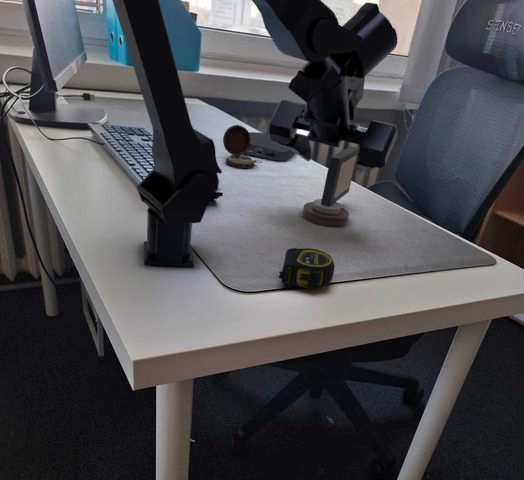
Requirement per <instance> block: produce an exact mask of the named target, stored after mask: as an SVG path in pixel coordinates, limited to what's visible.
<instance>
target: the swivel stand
mask: <svg viewBox="0 0 524 480" xmlns="http://www.w3.org/2000/svg"><path fill="white" fill-rule="evenodd" d="M313 202H314V201H310V202H309V201H308V202H306V203H304V205H303V209H302V217H303V218H304V219H305V220H307V221H309V222H311V223H313V224H316V225H319V226H325V227H333V228H335V227H343V226H345V225H347V224H348V219H349V216H350V212H349V211H348V210H347V209H345V208H344V207H342V208H341V212H340V213H339V214H335V215H331V214H324V213H321V212H318V211H316V210H314V209H313Z"/></svg>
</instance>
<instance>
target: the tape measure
mask: <svg viewBox="0 0 524 480" xmlns="http://www.w3.org/2000/svg"><path fill="white" fill-rule="evenodd" d="M335 267H336V265H335V262H334V259H333V257H332V256H331V255H330V254H328V253H326V252H325V251H322V250H320V249H316V248H307V247H306V248H303V247H302V248H301V247H300V248H299V247H298V248H297V247H292V248H288V249H287V250H286V251H285V255H284V262H283V266H282V270H281V271H280V270H279V272H278V274H279V275H278V278H279V279H281V282H282V284H284V285H285V286H286V285H288V286H294V285H295V286H298V287H300V288H304V289H308V290H309V289H310V290H311V289H322V288H324V287H326V286H328V285H329V284H330V283H331V282H332V280H333V277H334V274H335V269H336V268H335Z"/></svg>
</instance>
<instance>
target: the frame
mask: <svg viewBox="0 0 524 480" xmlns="http://www.w3.org/2000/svg"><path fill="white" fill-rule="evenodd" d="M359 148H360V147H356V146H352V145H351V146H348V147H347V148H345V149H342V150H341V151H339V152H337V153H335V154H333V155H331V156H330V158H329V162H328V168H327V173H326V178H325V182H324V187H323V192H322V197H321V198H317V199H314V200H313V201H312V202H313V209H314V210H316V211H318V212H321V213H324V214H331V215H335V214H339V213H340V212H341V208H343V206H342V204H341V203H339V202H337V201H339V200H341V199H342V198H343V197H344V196H345V195H347V194H348V193H349V192H350V190H351V189H350V188H351V184H352V179H353V175H354V173H355V168H356V164H357V160H358V153H359Z"/></svg>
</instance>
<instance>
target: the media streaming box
mask: <svg viewBox="0 0 524 480" xmlns="http://www.w3.org/2000/svg"><path fill="white" fill-rule="evenodd" d="M248 132H249V134H250V138H251V140H250V146H249V148H248V150H247V151H246V152H245V153H244V154H246V155H250V156H253V157H259V158H264V159H268V160H274V161H287V160H289V159H290V158H292V157H293V156H294V155H295V153H294V152H293V151H291V150H289V149H288V148H286V147H284V146H282V145H279V143H278V142H274V141H271V139H270V136H269V133H267V132H256V131H255V132H254V131H253V132H251V131H248Z"/></svg>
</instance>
